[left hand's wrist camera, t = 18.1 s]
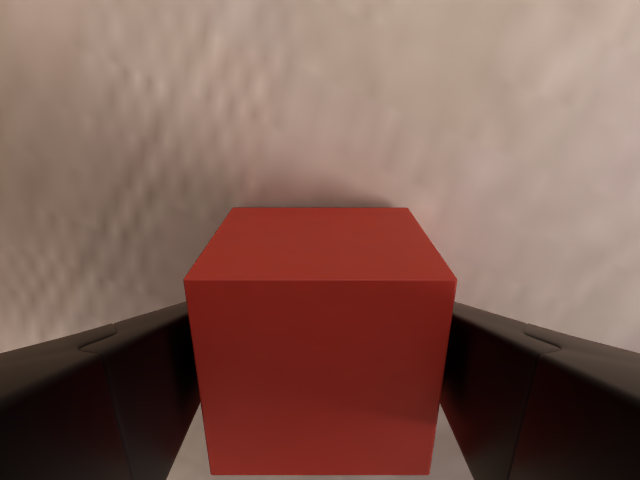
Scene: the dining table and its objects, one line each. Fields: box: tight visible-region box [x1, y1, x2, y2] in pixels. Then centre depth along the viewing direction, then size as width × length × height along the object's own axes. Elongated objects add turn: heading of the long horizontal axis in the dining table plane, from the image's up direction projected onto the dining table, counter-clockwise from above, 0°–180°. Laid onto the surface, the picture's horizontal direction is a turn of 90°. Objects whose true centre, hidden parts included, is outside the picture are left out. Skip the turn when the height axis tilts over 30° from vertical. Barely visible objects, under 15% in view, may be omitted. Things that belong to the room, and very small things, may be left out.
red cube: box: [184, 208, 457, 475], centre depth 11 cm, size 5×5×5 cm
